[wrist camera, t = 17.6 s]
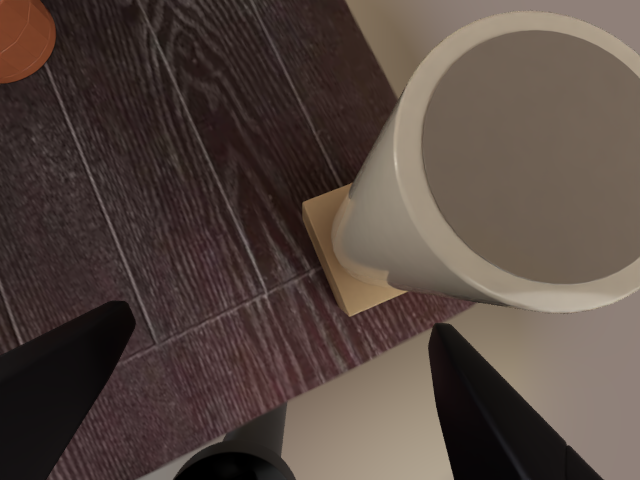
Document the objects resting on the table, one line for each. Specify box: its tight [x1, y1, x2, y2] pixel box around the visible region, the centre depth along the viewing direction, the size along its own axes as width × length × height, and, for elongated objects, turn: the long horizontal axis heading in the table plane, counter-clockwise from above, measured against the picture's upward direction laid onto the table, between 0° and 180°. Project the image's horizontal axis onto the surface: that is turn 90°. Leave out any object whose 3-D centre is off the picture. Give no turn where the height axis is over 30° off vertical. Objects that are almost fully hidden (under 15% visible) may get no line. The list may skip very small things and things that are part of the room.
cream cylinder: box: [331, 11, 640, 314], centre depth 11 cm, size 6×6×12 cm
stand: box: [302, 183, 408, 316], centre depth 20 cm, size 7×7×5 cm
